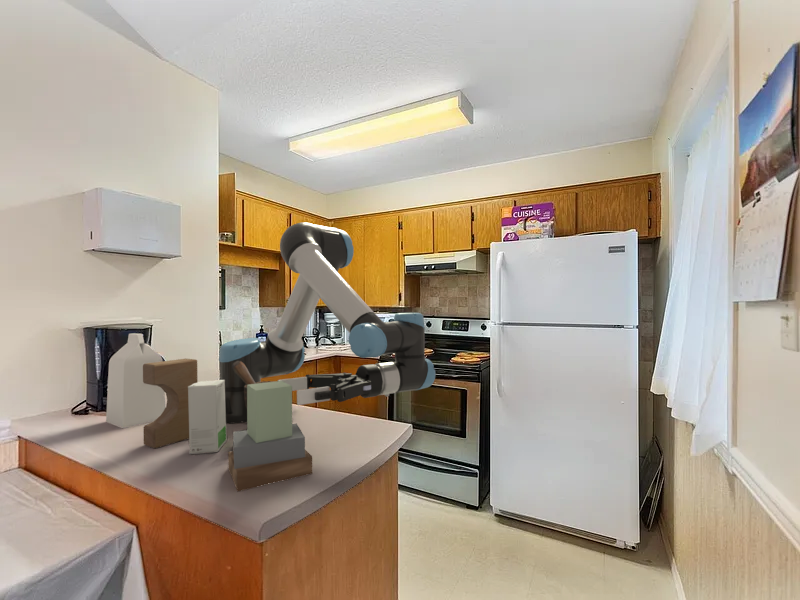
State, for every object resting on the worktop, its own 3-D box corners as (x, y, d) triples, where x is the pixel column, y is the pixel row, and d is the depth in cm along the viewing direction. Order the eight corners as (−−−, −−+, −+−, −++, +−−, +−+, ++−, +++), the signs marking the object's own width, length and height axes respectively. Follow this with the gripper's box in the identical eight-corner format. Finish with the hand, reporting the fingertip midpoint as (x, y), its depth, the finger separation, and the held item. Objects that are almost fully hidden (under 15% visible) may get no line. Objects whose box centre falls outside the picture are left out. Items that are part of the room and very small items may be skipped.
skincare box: (217, 453, 91) (216, 385, 92) (186, 455, 90) (185, 386, 90) (227, 440, 100) (226, 378, 100) (199, 442, 99) (198, 379, 99)
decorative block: (153, 449, 94) (152, 365, 95) (142, 445, 98) (141, 363, 98) (199, 436, 103) (198, 359, 104) (188, 432, 107) (187, 358, 107)
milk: (106, 421, 118) (105, 334, 119) (148, 412, 128) (147, 332, 128) (123, 428, 112) (122, 335, 112) (166, 418, 121) (165, 333, 121)
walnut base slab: (228, 471, 82) (228, 451, 82) (295, 456, 90) (295, 439, 90) (237, 494, 72) (237, 472, 72) (312, 476, 79) (312, 456, 79)
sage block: (247, 433, 82) (247, 384, 82) (281, 427, 85) (281, 380, 86) (256, 443, 76) (256, 390, 76) (292, 435, 80) (291, 386, 80)
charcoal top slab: (233, 451, 83) (233, 431, 83) (296, 441, 88) (296, 423, 88) (234, 469, 74) (234, 447, 74) (305, 457, 79) (304, 437, 79)
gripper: (405, 406, 84) (307, 424, 72) (353, 386, 105) (271, 398, 93) (404, 370, 84) (306, 383, 72) (353, 358, 105) (271, 366, 94)
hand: (286, 391), depth 83 cm, fingers open, 13 cm apart
